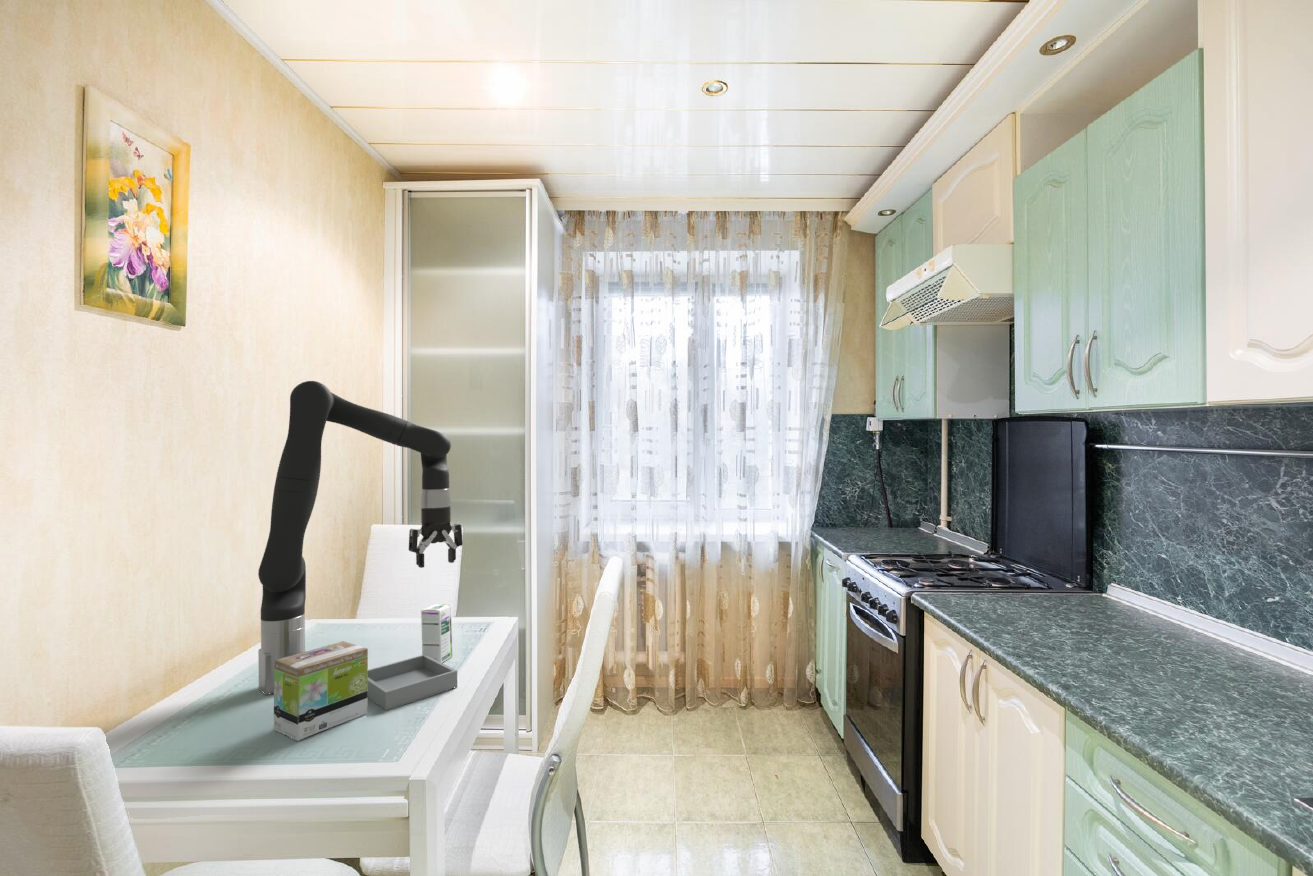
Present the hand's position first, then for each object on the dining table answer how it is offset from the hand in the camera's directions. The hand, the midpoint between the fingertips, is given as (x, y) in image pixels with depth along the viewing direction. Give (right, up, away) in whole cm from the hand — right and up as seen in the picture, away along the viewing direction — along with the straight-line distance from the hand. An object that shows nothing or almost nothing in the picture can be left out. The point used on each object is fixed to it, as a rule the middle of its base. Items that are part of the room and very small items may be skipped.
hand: (436, 564), depth 166 cm
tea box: (-11, -26, -36) cm, 46 cm away
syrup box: (0, -26, 0) cm, 26 cm away
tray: (0, -26, -19) cm, 32 cm away
